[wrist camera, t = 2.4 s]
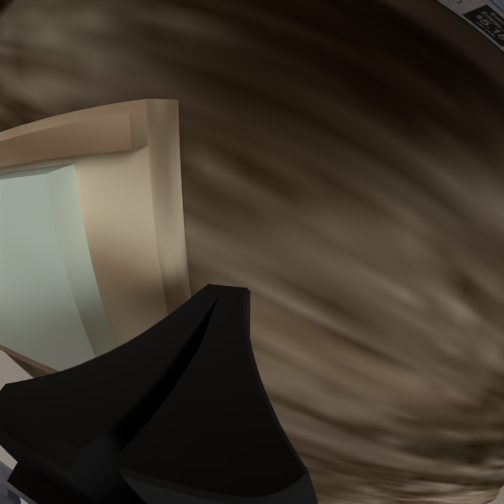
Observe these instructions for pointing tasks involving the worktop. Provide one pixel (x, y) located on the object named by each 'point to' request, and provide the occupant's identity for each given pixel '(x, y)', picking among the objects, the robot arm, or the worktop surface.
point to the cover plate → (48, 271)
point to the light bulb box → (482, 16)
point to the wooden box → (119, 203)
